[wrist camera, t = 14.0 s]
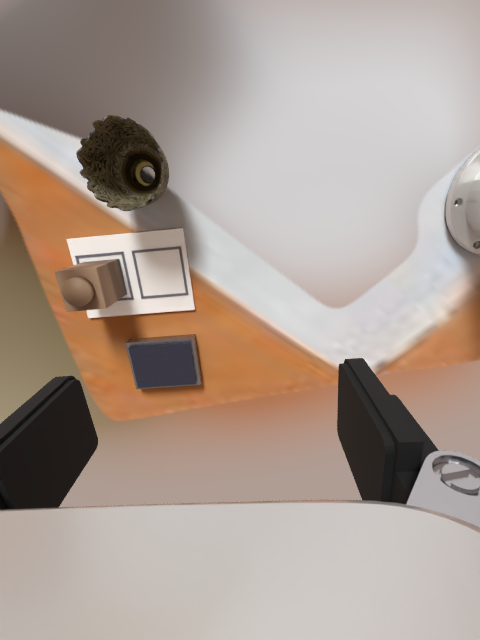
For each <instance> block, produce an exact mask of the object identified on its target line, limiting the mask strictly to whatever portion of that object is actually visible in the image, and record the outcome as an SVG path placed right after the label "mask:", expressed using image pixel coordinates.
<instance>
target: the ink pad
mask: <svg viewBox="0 0 480 640" xmlns="http://www.w3.org/2000/svg"><path fill="white" fill-rule="evenodd" d="M126 347H127V352H128V356H129V360H130V364H131V368H132V372H133V377H134V381H135V385H136V389H147V388H162V387H177V386H192V385H201V383H202V376H201V369H200V363H199V356H198V350H197V343H196V337H195V334H193V335H180V336H166V337H153V338H140V339H129V340H128V341H127V342H126Z"/></svg>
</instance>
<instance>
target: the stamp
mask: <svg viewBox="0 0 480 640" xmlns="http://www.w3.org/2000/svg"><path fill="white" fill-rule="evenodd" d="M55 274H56V277H57V281H58V284H59V287H60V291H61V294H62V297H63V301H64V304H65V307H66V311H67V312H70V311H83V310H95V309H106V308H108V307H109V306H111V305H112V304H114V303H115V302H116V301H118V300H119V299H121V298H122V297H123V296H125V295H126V294H127V291H126V287H125V282H124V278H123V273H122V269H121V264H120V260H119V259H112V260H101V261H90V262H83V263H79V264H76V265H73V266H70V267H67V268H64V269H61V270H58V271H55Z"/></svg>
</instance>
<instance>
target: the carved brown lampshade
mask: <svg viewBox="0 0 480 640" xmlns="http://www.w3.org/2000/svg"><path fill="white" fill-rule="evenodd" d="M93 126H94V128H95V130H94V131H93V132H91V133H90V136H89V138H86V139H81V141H80V142H81V145H82V147H81V148H80V149H79V150H78V151H77V158H78V160H79V162H80V163H81V164H82V166H83V169H82V170H81V171H80V174H81V175H82V176H83V177H84V178H86V179H88V180H89V181H88V182H87V184H88V185H87V188H88V189H89V190H90V191H92V192H93V193H94V196H95V198H96V199H98V200H100V201H103V202H107V203H108V204H107V206H108V207H110V208H118V209H120V210H122V211H131V210H135V209H139V208H141V207H144V206H146V205H149V204H151V203H153V202H154V201H156V200H157V199H158V198H159V197H160V196H161V195H162V194H163V193H164V191H165V189H166V187H167V184H168V179H169V168H168V163H167V160H166V157H165V155H164V153H163V151H162V149H161V148H160V146H159V145H158V143H157V142H156V141H155V139H154V137H153V136H152V134H151V133H149V131H148V130H147V129H145V128H144V127H143V126H141V125H140V124H139V125H138V124H137V123H135V121H133V120H131V119H130V118H127V119H123V118H121V117H119V116H114V115H108V116H106V117H105V118H103V119H102V120H101V121H99V120H97V121H94V122H93ZM146 166H149V167H151V168H152V169H153V170H154V172H155V179H154V180H153V181H152V182H150V183H147V182H145V181H144V180H143V179H142V178H141V170H142V169H143V168H144V167H146Z"/></svg>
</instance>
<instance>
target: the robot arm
mask: <svg viewBox="0 0 480 640" xmlns="http://www.w3.org/2000/svg"><path fill="white" fill-rule="evenodd" d="M454 202H455V204H454ZM446 221H447V226H448V229H449V231H450V233H451V235H452V237H453V238H454V239H455V241H456V242H457V243H458V244H459V245H460V246H461V247H463V248H464V249H465V250H468V251H470V252H472V253H475V254H479V255H480V148H479V149H478V150H477V151H475V152H474V153H473V154H472V155H471V156H470V157H469V158H468V159H467V160H466V161H465V163H464V164H463V165H462V167H461V168H460V169H459V171H458V172H457V174H456V176H455V178H454V180H453V182H452V184H451V187H450V189H449V192H448V195H447V201H446ZM337 429H338V436H339V439H340V442H341V444H342V447H343V450H344V452H345V455H346V458H347V460H348V463H349V466H350V468H351V471H352V474H353V476H354V479H355V482H356V484H357V487H358V490H359V492H360V495H361V497H362V501H361V500H359V501H358V500H302V501H262V502H261V501H259V502H218V503H181V504H150V505H149V504H148V505H118V506H88V507H87V506H86V507H62V508H61V507H60V508H58V507H59V506H60V504H61V503H62V501H63V500H64V498H65V496H66V495H67V493H68V492H69V490H70V489H71V487H72V486H73V484H74V483H75V481H76V479H77V478H78V476H79V475H80V473H81V472H82V470H83V469H84V467H85V466H86V464H87V462H88V461H89V459H90V458H91V456H92V455H93V453H94V452H95V450H96V448H97V445H98V437H97V434H96V431H95V428H94V425H93V421H92V418H91V415H90V412H89V409H88V405H87V402H86V399H85V396H84V392H83V389H82V386H81V383H80V381H79V380H76V379H75V377H73V376H63V377H55V378H53V379H52V380H51V381H50V382H49V383H47V384H46V385H45V386H44V387H43V388H42V389H40V390H39V391H38V392H37V393H36V394H35V395H33V396H32V397H31V398H30V399H29V400H28V401H26V402H25V403H24V404H23V405H22V406H21V407H19V408H18V409H17V410H16V411H15V412H14V413H13V414H11V415H10V416H9V417H8V418H7V419H5V420H4V421H3V422H2V423H1V424H0V640H480V461H479V460H477V459H475V458H473V457H471V456H469V455H466V454H463V453H459V452H456V451H447V450H442V451H439V450H438V449H437V448H436V446H435V445H434V444H433V442H432V441H431V440H430V438H429V437H428V436H427V435H426V433H425V432H424V431H423V429H422V428H421V427H420V425H419V424H418V423H417V422H416V420H415V419H414V418H413V416H412V415H411V414H410V412H409V411H408V410H407V409H406V407H405V406H404V405H403V404H402V402H401V401H400V399H399V398H398V397H397V396H396V395H390V394H389V393H388V392H387V391H386V389H385V388H384V386H383V385H382V383H381V382H380V381H379V379H378V378H377V377H376V375H375V374H374V373H373V371H372V370H371V369H370V367H369V366H368V364H367V363H366V362H365V360H364V359H363V358H357V359H345V361H344V363H343V364H339V379H338V421H337Z"/></svg>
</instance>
